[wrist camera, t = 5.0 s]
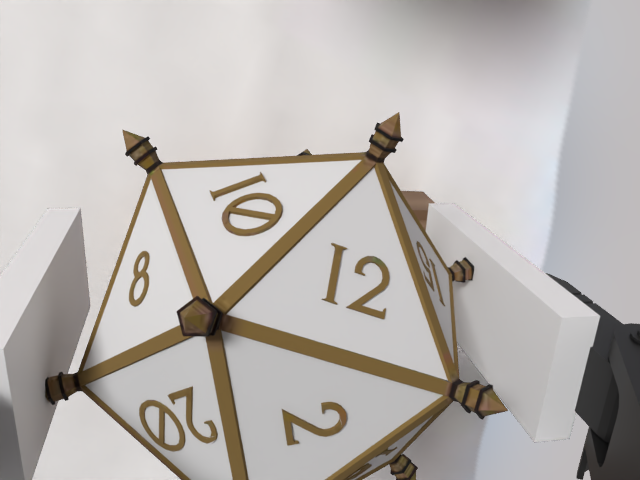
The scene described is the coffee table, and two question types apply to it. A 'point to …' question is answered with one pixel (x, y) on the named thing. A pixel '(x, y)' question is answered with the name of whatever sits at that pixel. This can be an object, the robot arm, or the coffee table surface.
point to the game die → (277, 319)
